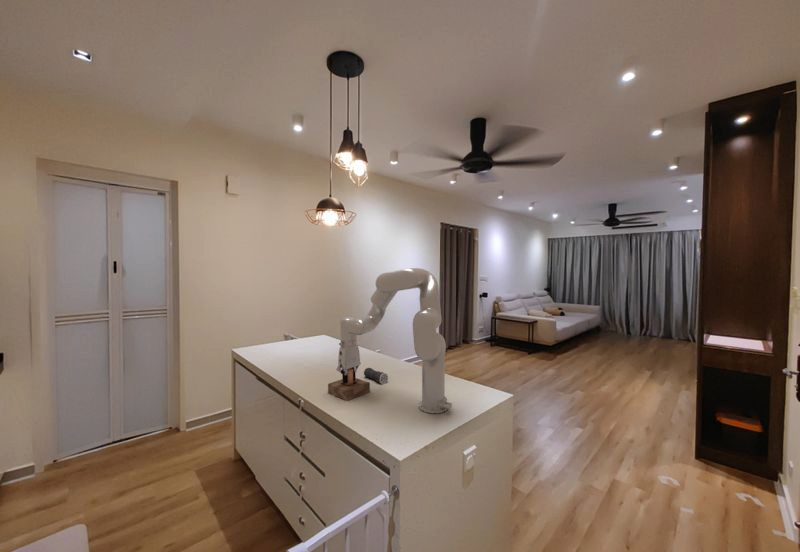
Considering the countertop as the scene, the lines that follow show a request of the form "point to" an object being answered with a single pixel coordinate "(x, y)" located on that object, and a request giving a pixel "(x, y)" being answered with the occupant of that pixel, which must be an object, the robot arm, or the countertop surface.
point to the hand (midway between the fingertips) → (349, 381)
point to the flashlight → (376, 375)
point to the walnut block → (348, 389)
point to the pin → (349, 377)
